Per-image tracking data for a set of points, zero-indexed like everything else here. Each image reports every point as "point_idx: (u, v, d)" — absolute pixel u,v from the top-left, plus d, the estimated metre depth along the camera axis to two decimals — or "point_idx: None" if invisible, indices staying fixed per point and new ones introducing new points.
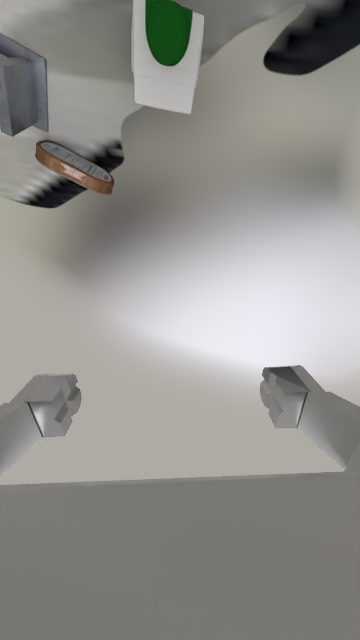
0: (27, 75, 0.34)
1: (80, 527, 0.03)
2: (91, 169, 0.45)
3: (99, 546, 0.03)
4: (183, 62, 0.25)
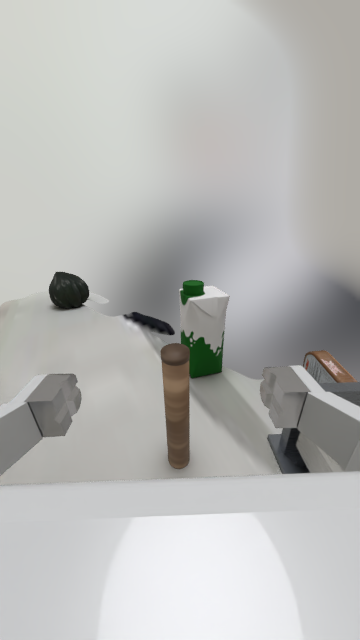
0: None
1: (80, 527, 0.03)
2: (315, 376, 0.39)
3: (99, 546, 0.03)
4: None
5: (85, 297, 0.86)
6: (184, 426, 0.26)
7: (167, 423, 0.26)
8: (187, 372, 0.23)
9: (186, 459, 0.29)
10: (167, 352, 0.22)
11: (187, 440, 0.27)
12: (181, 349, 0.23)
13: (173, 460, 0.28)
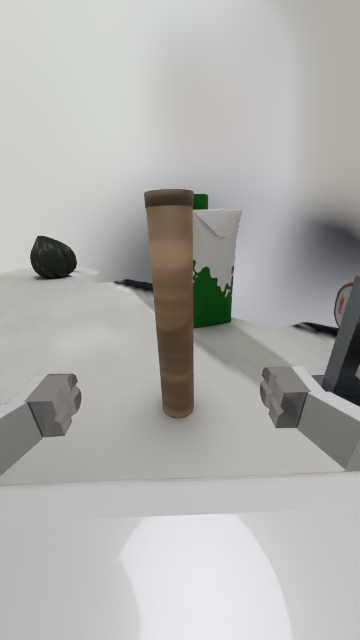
0: None
1: (80, 527, 0.03)
2: None
3: (99, 546, 0.03)
4: None
5: (72, 266, 0.76)
6: (185, 340, 0.16)
7: (159, 338, 0.17)
8: (190, 232, 0.14)
9: (189, 403, 0.19)
10: None
11: (190, 370, 0.18)
12: None
13: (170, 404, 0.19)
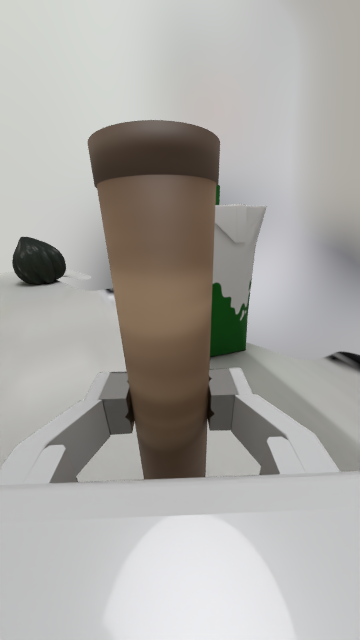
0: None
1: (80, 527, 0.03)
2: None
3: (99, 546, 0.03)
4: None
5: (60, 270, 0.68)
6: (192, 460, 0.08)
7: (141, 451, 0.09)
8: (210, 250, 0.05)
9: None
10: None
11: None
12: None
13: None
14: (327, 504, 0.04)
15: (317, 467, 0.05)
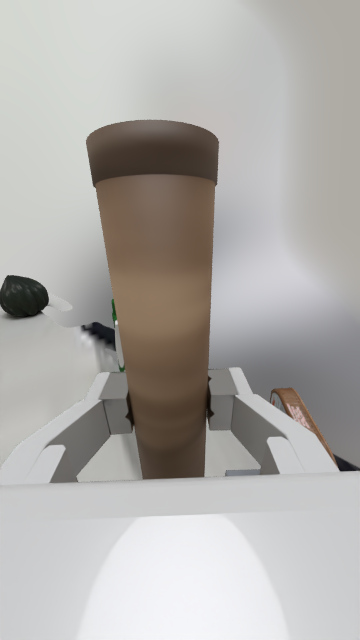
0: None
1: (80, 527, 0.03)
2: None
3: (99, 546, 0.03)
4: None
5: (42, 304, 0.76)
6: (191, 461, 0.08)
7: (140, 451, 0.09)
8: (209, 250, 0.05)
9: None
10: None
11: None
12: None
13: None
14: (327, 504, 0.04)
15: (317, 467, 0.05)
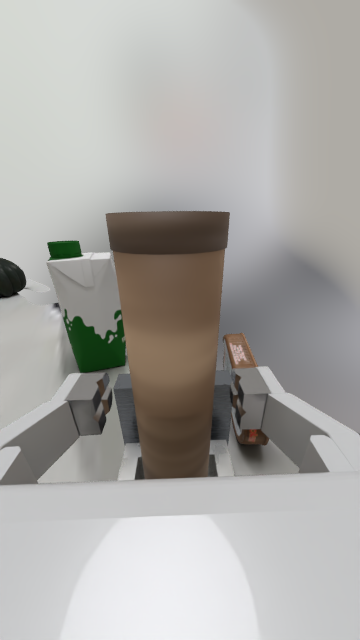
0: None
1: (80, 527, 0.03)
2: (227, 368, 0.28)
3: (99, 546, 0.03)
4: None
5: (17, 285, 0.75)
6: None
7: (146, 477, 0.09)
8: (218, 307, 0.06)
9: None
10: None
11: None
12: None
13: None
14: (327, 504, 0.04)
15: None
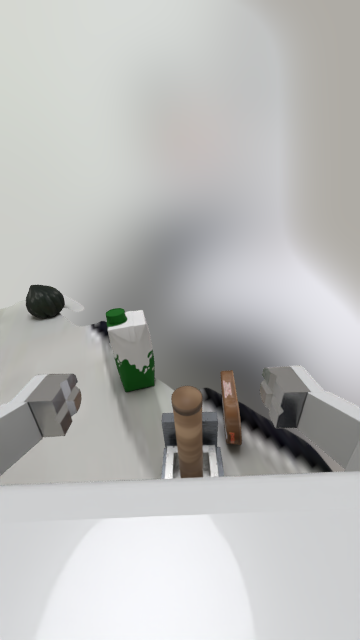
0: None
1: (80, 527, 0.03)
2: None
3: (99, 546, 0.03)
4: (124, 315, 0.48)
5: (60, 307, 0.93)
6: (197, 466, 0.25)
7: (180, 461, 0.25)
8: (200, 418, 0.22)
9: None
10: (178, 399, 0.21)
11: (201, 476, 0.27)
12: (193, 395, 0.21)
13: None
14: (327, 504, 0.04)
15: None
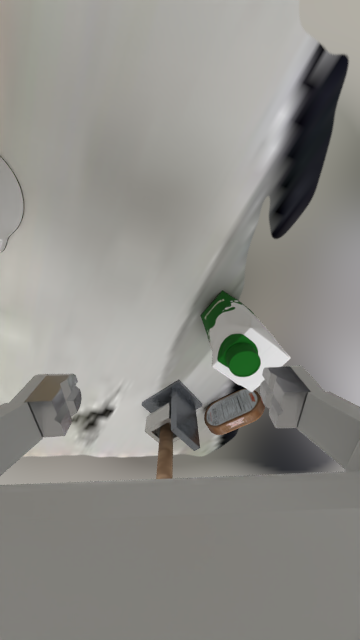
0: (180, 400, 0.50)
1: (80, 527, 0.03)
2: (240, 402, 0.50)
3: (99, 546, 0.03)
4: (260, 351, 0.28)
5: None
6: None
7: None
8: None
9: None
10: None
11: None
12: None
13: None
14: (327, 504, 0.04)
15: None
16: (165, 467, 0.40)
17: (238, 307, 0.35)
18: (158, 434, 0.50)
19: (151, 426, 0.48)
